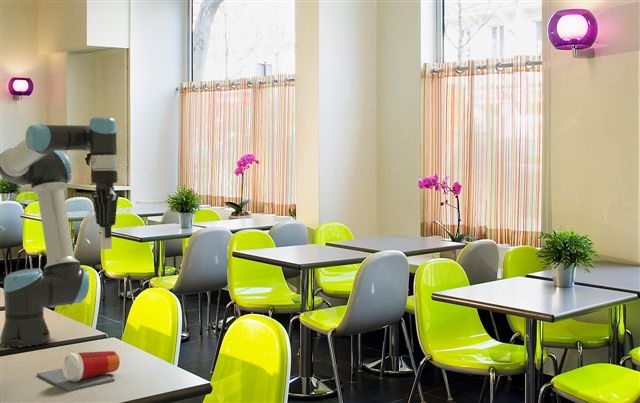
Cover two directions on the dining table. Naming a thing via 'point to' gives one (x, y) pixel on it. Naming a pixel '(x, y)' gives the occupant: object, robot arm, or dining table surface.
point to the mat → (68, 385)
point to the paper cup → (89, 364)
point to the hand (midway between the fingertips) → (106, 248)
